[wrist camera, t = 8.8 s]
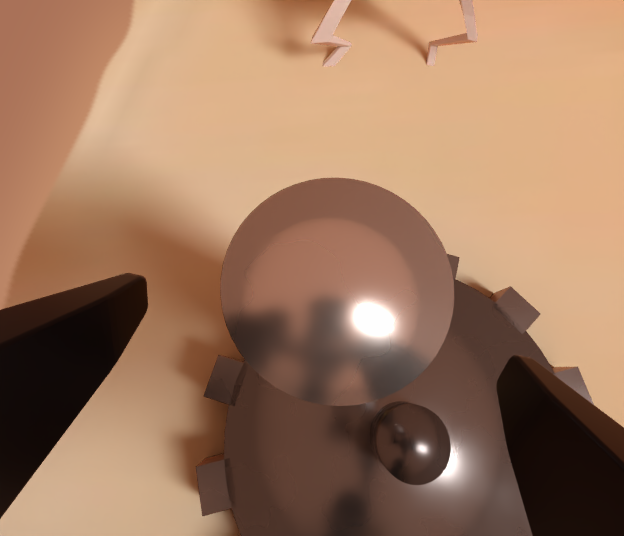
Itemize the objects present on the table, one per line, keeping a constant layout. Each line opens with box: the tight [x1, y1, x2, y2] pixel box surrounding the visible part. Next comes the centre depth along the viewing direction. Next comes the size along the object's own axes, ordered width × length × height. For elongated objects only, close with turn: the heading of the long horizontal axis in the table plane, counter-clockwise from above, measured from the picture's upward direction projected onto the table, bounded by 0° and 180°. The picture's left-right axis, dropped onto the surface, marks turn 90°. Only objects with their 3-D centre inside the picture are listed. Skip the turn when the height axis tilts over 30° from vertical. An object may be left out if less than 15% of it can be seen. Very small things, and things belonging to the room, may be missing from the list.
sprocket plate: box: [196, 254, 594, 536], centre depth 15 cm, size 17×17×3 cm
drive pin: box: [220, 178, 454, 406], centre depth 11 cm, size 4×4×11 cm
